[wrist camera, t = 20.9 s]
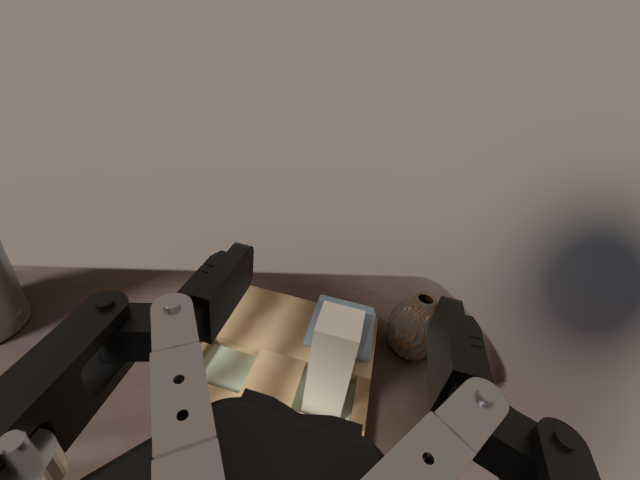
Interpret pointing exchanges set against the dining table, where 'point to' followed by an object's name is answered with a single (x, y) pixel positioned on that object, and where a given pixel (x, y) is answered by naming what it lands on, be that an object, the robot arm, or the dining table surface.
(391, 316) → the vase
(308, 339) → the blue l-shaped block
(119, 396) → the dining table surface
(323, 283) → the dining table surface
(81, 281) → the dining table surface
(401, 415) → the dining table surface
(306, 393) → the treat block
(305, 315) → the puzzle board
